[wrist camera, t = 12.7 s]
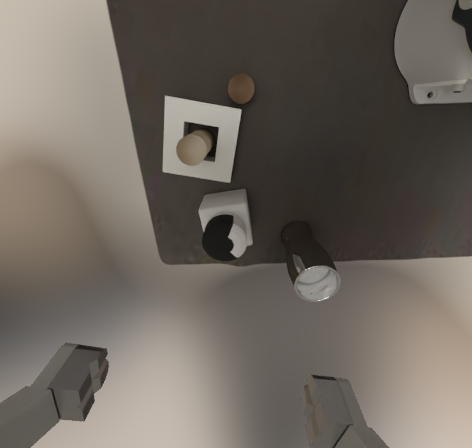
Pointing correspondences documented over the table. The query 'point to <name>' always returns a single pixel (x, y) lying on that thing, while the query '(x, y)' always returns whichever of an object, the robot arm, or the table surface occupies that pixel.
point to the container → (225, 224)
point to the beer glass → (309, 264)
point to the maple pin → (195, 146)
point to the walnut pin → (241, 88)
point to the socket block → (206, 114)
